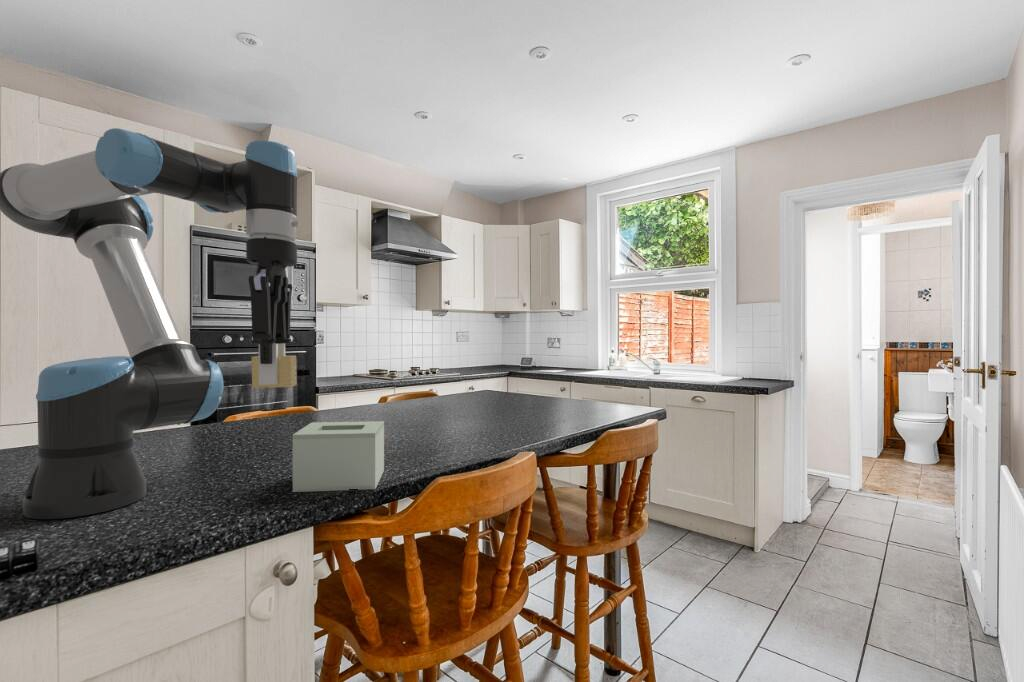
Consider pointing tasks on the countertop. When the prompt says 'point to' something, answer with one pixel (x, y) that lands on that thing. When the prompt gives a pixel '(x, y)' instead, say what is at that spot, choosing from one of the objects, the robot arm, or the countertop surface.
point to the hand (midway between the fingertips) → (272, 382)
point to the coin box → (338, 456)
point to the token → (285, 372)
